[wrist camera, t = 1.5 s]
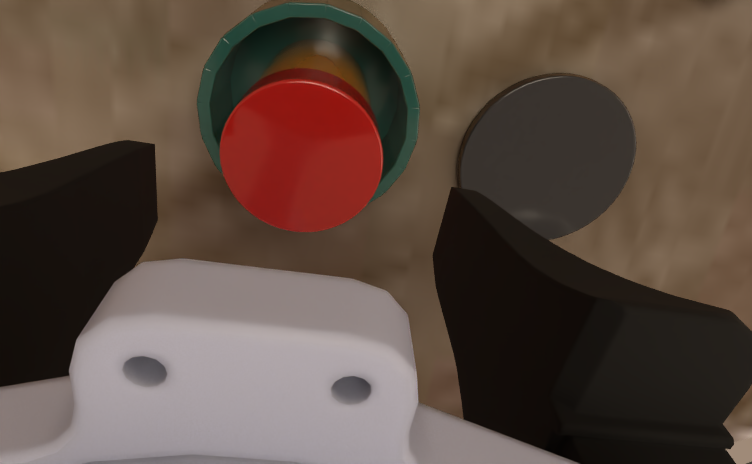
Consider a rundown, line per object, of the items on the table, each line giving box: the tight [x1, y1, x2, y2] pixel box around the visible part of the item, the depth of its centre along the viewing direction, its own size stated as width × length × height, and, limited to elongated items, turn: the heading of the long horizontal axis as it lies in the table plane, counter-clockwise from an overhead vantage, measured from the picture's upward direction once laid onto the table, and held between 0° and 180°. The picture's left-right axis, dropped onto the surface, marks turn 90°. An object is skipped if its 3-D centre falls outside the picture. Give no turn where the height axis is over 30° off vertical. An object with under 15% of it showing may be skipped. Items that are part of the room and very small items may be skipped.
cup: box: [197, 0, 420, 204], centre depth 20 cm, size 8×8×4 cm
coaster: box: [458, 73, 636, 240], centre depth 24 cm, size 8×8×1 cm
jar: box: [219, 39, 383, 232], centre depth 18 cm, size 5×5×8 cm
